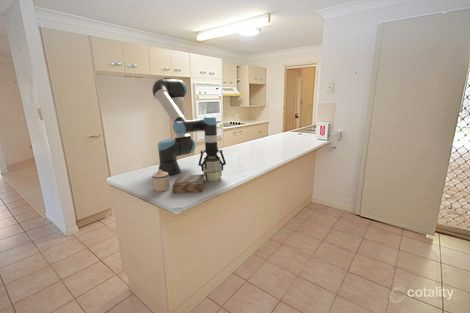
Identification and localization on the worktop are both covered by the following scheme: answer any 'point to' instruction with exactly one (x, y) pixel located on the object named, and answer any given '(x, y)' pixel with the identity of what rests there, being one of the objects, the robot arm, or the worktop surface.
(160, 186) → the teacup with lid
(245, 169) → the worktop surface
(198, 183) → the riser block
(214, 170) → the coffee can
